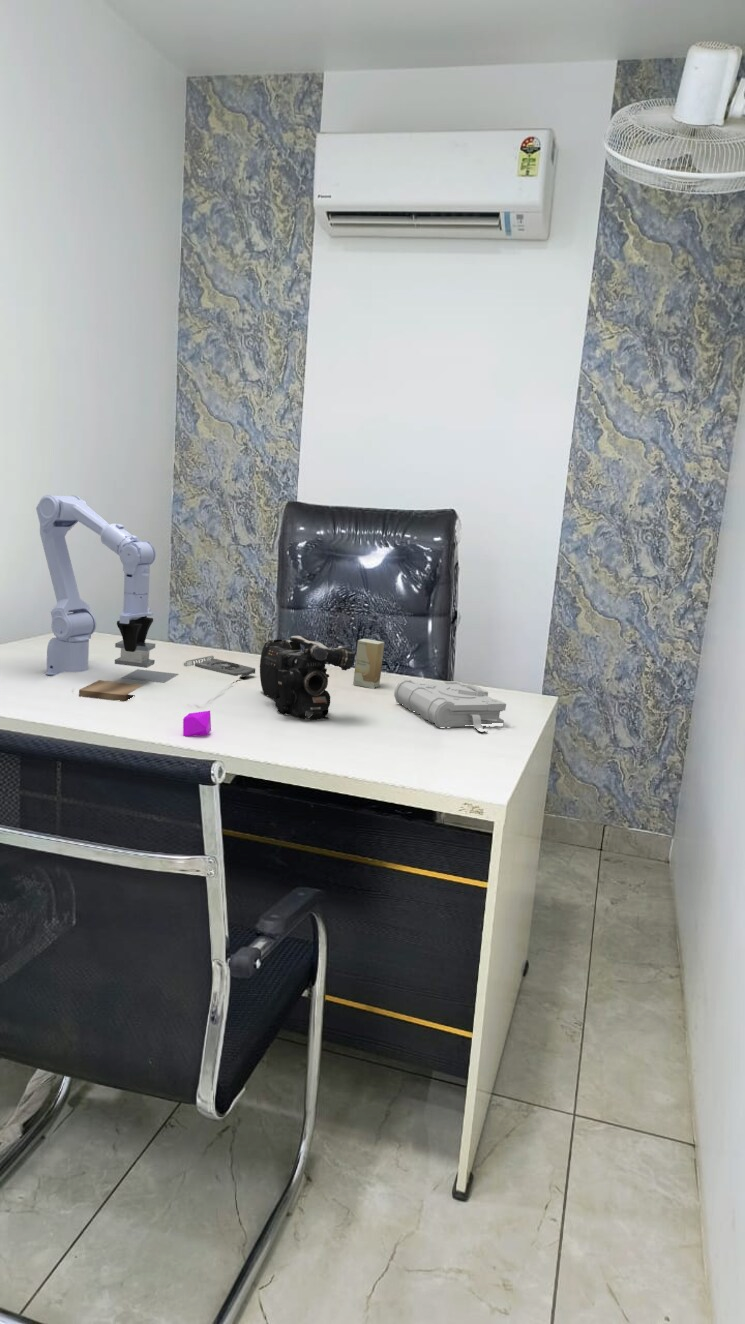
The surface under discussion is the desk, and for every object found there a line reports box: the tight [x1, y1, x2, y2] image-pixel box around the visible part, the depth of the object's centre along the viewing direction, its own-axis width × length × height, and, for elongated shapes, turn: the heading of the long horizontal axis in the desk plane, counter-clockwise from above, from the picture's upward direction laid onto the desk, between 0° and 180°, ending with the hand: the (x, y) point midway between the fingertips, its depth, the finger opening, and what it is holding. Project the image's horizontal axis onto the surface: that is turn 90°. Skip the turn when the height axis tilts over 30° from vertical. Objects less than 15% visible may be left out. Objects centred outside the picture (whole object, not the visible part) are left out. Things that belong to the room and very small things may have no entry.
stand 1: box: [78, 679, 144, 702], centre depth 215 cm, size 11×11×2 cm
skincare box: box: [352, 638, 385, 689], centre depth 245 cm, size 6×4×12 cm
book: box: [393, 679, 507, 730], centre depth 220 cm, size 19×28×8 cm
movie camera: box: [259, 635, 356, 721], centre depth 217 cm, size 31×18×18 cm, turn 28°
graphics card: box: [183, 655, 256, 678], centre depth 245 cm, size 17×4×12 cm
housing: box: [114, 639, 156, 669], centre depth 221 cm, size 8×5×5 cm, turn 83°
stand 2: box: [120, 668, 179, 684], centre depth 230 cm, size 11×11×2 cm
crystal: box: [182, 710, 212, 737], centre depth 189 cm, size 5×5×5 cm
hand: (134, 649), depth 221 cm, fingers closed on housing, 5 cm apart
